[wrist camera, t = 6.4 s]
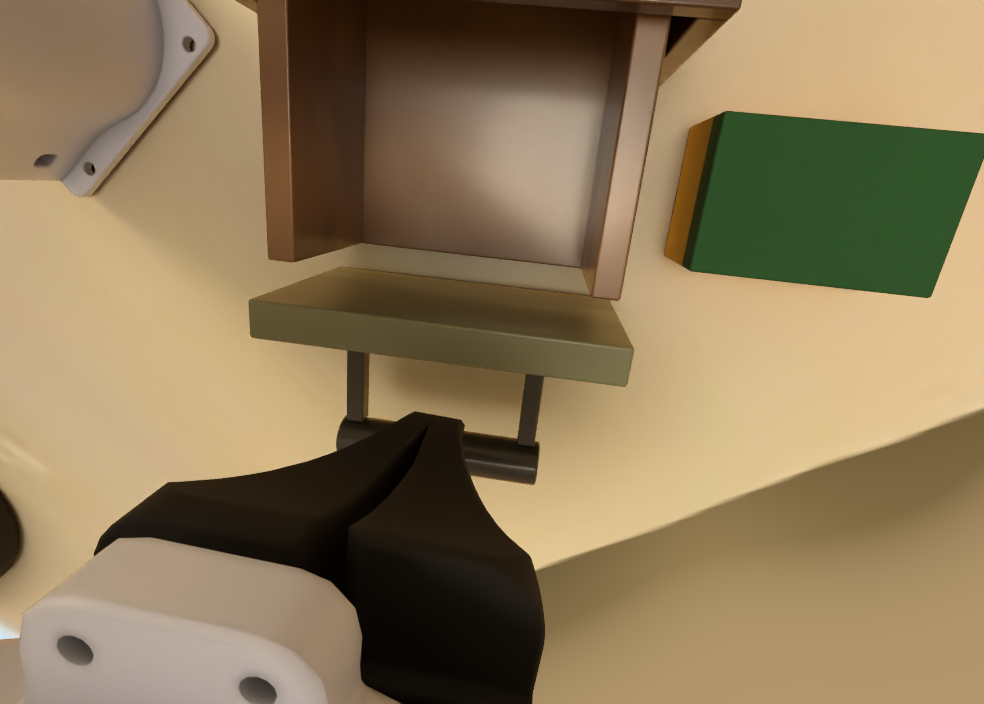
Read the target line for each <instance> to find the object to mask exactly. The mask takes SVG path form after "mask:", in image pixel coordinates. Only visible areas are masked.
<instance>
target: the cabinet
mask: <svg viewBox="0 0 984 704" xmlns="http://www.w3.org/2000/svg"><path fill="white" fill-rule="evenodd" d="M236 1H237V2H239V3H241V4H242V5H244V6H246V7H247V8H249V9H251V10H252V11H254V12H256V13H257V0H236ZM470 1H484V2H497V3H510V4H524V5H537V6H551V7H564V8H578V9H591V10H605V11H618V12H632V13H645V14H659V15H672V18H671V23H670V29H669V34H668V40H667V45H666V51H665V56H664V62H663V67H662V73H661V78H660V84H659V87H660V86H661V85H662V84H663V82H664V81H666V80H667V79H668V78H669V77H670V76H671V75H672V74H673V73H674V72H675V71H676V70H677V69H678V68H679V67H680V66H681V65H682V64H683V63H684V62H685V61H686V60H687V59H688V58H689V57H690V56H691V55H692V54H693V53H695V52H696V51H697V50H698V49H699V48H700V47H701V46H702V45H703V44H704V43H705V42H706V41H707V40H708V39H709V38H710V37H711V36H712V35H713V34H714V33H715V32H716V31H717V30H718V29H719V28H720V27H721V26H723V25H724V24H725V23H726V22H727V21H728V19H730V18H731V17H732V16H733V15H734V14H735V13H736V12H737V11H738V10H739V9H740V7H741V3H742V0H470ZM257 14H258V13H257Z"/></svg>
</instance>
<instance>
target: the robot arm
mask: <svg viewBox="0 0 984 704" xmlns="http://www.w3.org/2000/svg"><path fill="white" fill-rule="evenodd" d="M192 40H194V42H195V49H194V51H193V52H191V50H190V46H189V45H190V42H191V41H192ZM214 44H215V36H214V32H213V30H212V29H211V27H210V26H209V25H208V24H207V22H206V21H205V20H204V19H203V18H202V16H201V15H200V14H199V13H198V12H197V10H196V9H195V8H194V7H193V6H192V4H191V3H190V2H189V1H188V0H0V180H53V181H61V182H62V183H63V184H64V185H65V186H66V187H67V188H68V189H69V190H70V191H71V192H72V193H73V194H74V195H76V196H79V197H87V196H90V195H92V194H93V193H94V192H95V190H96V189H97V188H98V187H99V186H100V184H101V183H102V182H103V181H104V179H105V178H106V177H107V176H108V175H109V173H110V172H111V171H112V170H113V169H114V167H115V166H116V165H117V164H118V162H119V161H120V160H121V159H122V158H123V156H124V155H125V154H126V153H127V151H128V150H129V149H130V148H131V147H132V145H133V144H134V143H135V142H136V141H137V139H138V138H139V137H140V136H141V134H142V133H143V132H144V131H145V130H146V128H147V127H148V126H149V125H150V123H151V122H152V121H153V120H154V119H155V117H156V116H157V115H158V114H159V113H160V111H161V110H162V109H163V108H164V106H165V105H166V104H167V103H168V102H169V100H170V99H171V98H172V97H173V95H174V94H175V93H176V92H177V91H178V89H179V88H180V87H181V86H182V85H183V83H184V82H185V81H186V80H187V78H188V77H189V76H190V75H191V74H192V72H193V71H194V70H195V69H196V68H197V66H198V65H199V64H200V63H201V61H202V60H203V59H204V58H205V57H206V55H207V54H208V53H209V52H210V50H211V49H212V48H213V46H214ZM92 164H93V165H94V167H95V173H94V172H93V171H92ZM464 426H465V425H464V423H463V422H462V421H461V420H459V419H453V418H448V417H442V416H437V415H432V414H426V413H421V412H413V413H411V414H409V415H407V416H405V417H403V418H402V419H400V420H398V421H396V422H395V423H393V424H391V425H389V426H388V427H386V428H384V429H382V430H380V431H378V432H377V433H375V434H373V435H371V436H369V437H367V438H365V439H362V440H360V441H358V442H356V443H354V444H352V445H350V446H348V447H345V448H343V449H341V450H338V451H336V452H333V453H331V454H328V455H325V456H322V457H319V458H316V459H313V460H310V461H307V462H304V463H300V464H296V465H292V466H288V467H284V468H280V469H276V470H272V471H267V472H262V473H256V474H251V475H244V476H237V477H230V478H222V479H211V480H198V481H185V482H168V483H167V484H165V485H164V486H162V487H161V488H160V489H158V490H157V491H156V492H154V493H153V494H152V495H151V496H149V497H148V498H147V499H145V500H144V501H143V502H141V503H140V504H139V505H137V506H136V507H135V508H133V509H132V510H131V511H130V512H128V513H127V514H126V515H124V516H123V517H122V518H120V519H119V520H118V521H116V522H115V523H114V524H112V525H111V526H110V527H109V528H108V530H107V531H106V532H105V533H104V534H103V535H102V536H101V537H100V539H99V542H98V544H97V547H96V549H95V552H94V557H93V558H92V559H90V560H89V561H88V562H87V563H85V564H84V565H83V566H82V567H80V568H79V569H78V570H77V571H75V572H74V573H73V574H72V575H70V576H69V577H68V578H67V579H66V580H64V581H63V582H62V583H61V584H59V585H58V586H57V587H56V588H54V589H53V590H52V591H51V592H49V593H48V594H47V595H46V596H44V597H43V598H42V599H41V600H39V601H38V602H37V603H36V604H34V605H33V606H32V607H31V608H29V609H28V610H27V611H26V612H24V613H23V618H22V626H21V634H20V638H15V639H3V640H0V704H532V694H533V689H534V685H535V681H536V676H537V672H538V668H539V664H540V659H541V656H542V651H543V647H544V639H545V624H544V623H545V622H544V613H543V605H542V600H541V594H540V589H539V585H538V581H537V577H536V573H535V570H534V566H533V563H532V559H531V557H530V556H529V554H528V553H526V552H525V551H524V550H523V549H522V548H521V547H519V546H518V545H517V544H516V543H515V542H514V541H513V540H511V539H510V538H509V537H508V536H507V535H506V534H505V533H504V532H503V531H502V530H501V528H500V527H499V526H498V525H497V524H496V522H495V521H494V520H493V518H492V517H491V515H490V514H489V513H488V511H487V510H486V508H485V506H484V504H483V503H482V501H481V499H480V497H479V495H478V493H477V491H476V489H475V487H474V484H473V482H472V479H471V476H470V473H469V470H468V467H467V464H466V460H465V455H464V450H463V443H462V440H463V433H464Z"/></svg>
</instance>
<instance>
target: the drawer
mask: <svg viewBox="0 0 984 704" xmlns="http://www.w3.org/2000/svg"><path fill="white" fill-rule="evenodd" d="M257 13H258V36H259V59H260V82H261V104H262V127H263V150H264V173H265V195H266V218H267V241H268V258H269V259H270V260H277V261H286V262H297V261H300V260H304V259H307V258H311V257H314V256H318V255H321V254H325V253H329V252H332V251H336V250H339V249H343V248H346V247H350V246H353V245H357V244H361V243H366V244H375V245H384V246H393V247H401V248H410V249H419V250H428V251H436V252H445V253H454V254H463V255H471V256H480V257H489V258H498V259H506V260H515V261H524V262H533V263H541V264H550V265H559V266H568V267H576V268H581V270H582V272H583V275H584V278H585V281H586V283H587V286H588V289H589V292H590V295H591V296H583V295H574V294H566V293H558V292H549V291H541V290H532V289H524V288H515V287H507V286H499V285H490V284H482V283H473V282H465V281H456V280H448V279H440V278H431V277H423V276H414V275H406V274H397V273H389V272H381V271H372V270H364V269H355V268H347V267H338V268H335V269H333V270H330V271H327V272H324V273H322V274H319V275H316V276H313V277H311V278H308V279H305V280H302V281H300V282H297V283H294V284H291V285H289V286H286V287H283V288H280V289H278V290H275V291H272V292H269V293H267V294H264V295H261V296H258V297H256V298H253V299H250V300H249V319H250V335H251V337H252V338H258V339H266V340H273V341H281V342H288V343H296V344H303V345H311V346H319V347H326V348H334V349H341V350H347V416H345V417H344V419H343V420H342V422H341V424H340V427H339V430H338V434H337V441H336V448H337V451H338V450H341V449H343V448H345V447H348V446H350V445H352V444H354V443H356V442H358V441H360V440H362V439H365V438H367V437H369V436H371V435H373V434H375V433H377V432H378V431H380V430H382V429H384V428H386V427H388V426H389V425H391V424H393V423H395V422H396V421H390V420H383V419H376V418H369V417H367V416H368V394H369V353H372V354H379V355H387V356H394V357H402V358H410V359H417V360H425V361H432V362H440V363H447V364H455V365H463V366H470V367H478V368H485V369H493V370H501V371H508V372H516V373H523V374H526V375H525V383H524V390H523V398H522V406H521V414H520V422H519V430H518V438H517V439H516V438H509V437H502V436H495V435H488V434H481V433H474V432H467V431H464V433H463V440H462V443H463V450H464V455H465V460H466V464H467V467H468V470H469V473H470V476H475V477H482V478H489V479H495V480H502V481H509V482H515V483H522V484H529V485H534V484H535V482H536V476H537V469H538V461H539V451H540V443H539V442H538V441H535V437H536V430H537V423H538V416H539V408H540V401H541V394H542V387H543V380H544V376H546V377H554V378H561V379H569V380H576V381H584V382H592V383H599V384H607V385H614V386H622V387H625V386H627V384H628V379H629V374H630V369H631V364H632V359H633V354H634V348H633V346H632V344H631V342H630V340H629V338H628V336H627V334H626V332H625V330H624V328H623V326H622V324H621V322H620V320H619V318H618V316H617V314H616V313H615V311H614V309H613V307H612V305H611V303H610V301H609V300H615V301H618V300H620V298H621V293H622V287H623V282H624V276H625V271H626V265H627V260H628V254H629V249H630V243H631V238H632V232H633V227H634V221H635V216H636V210H637V205H638V199H639V194H640V188H641V183H642V177H643V172H644V166H645V161H646V155H647V150H648V144H649V139H650V133H651V128H652V122H653V117H654V111H655V106H656V100H657V95H658V89H659V84H660V78H661V73H662V67H663V62H664V56H665V51H666V45H667V40H668V34H669V29H670V23H671V18H672V15H659V14H645V13H632V12H618V11H605V10H591V9H578V8H564V7H551V6H537V5H524V4H510V3H497V2H484V1H470V0H257Z"/></svg>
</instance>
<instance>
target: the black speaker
mask: <svg viewBox="0 0 984 704" xmlns="http://www.w3.org/2000/svg"><path fill="white" fill-rule="evenodd" d="M18 547H19V533H18V528H17V525H16V522H15V519H14V517H13V515H12V512H11V510H10V509H9V507H8V505H7V504H6V502H5V501H4V500H3V498H2V497H1V496H0V577H1V576H2V575H4V574H5V573H6V572H7V571H8V570H9V568H10V567H11V566H12V564H13V562H14V560H15V557H16V554H17V551H18Z"/></svg>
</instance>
